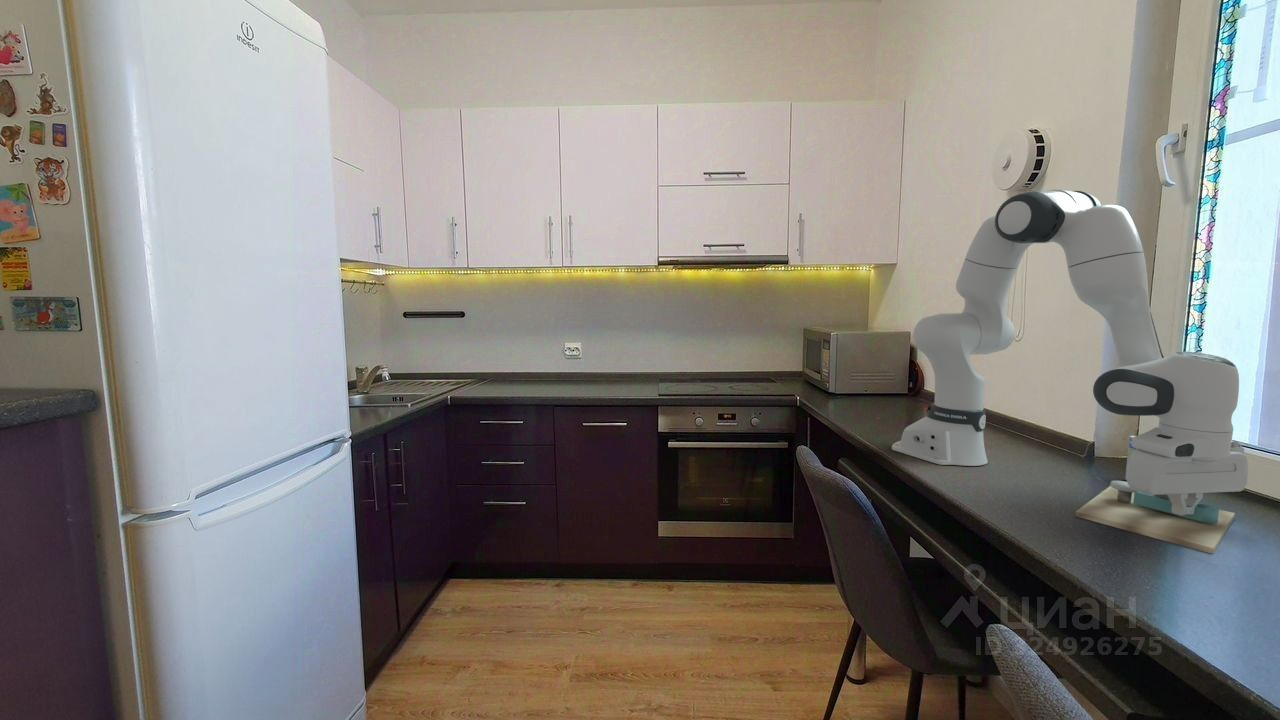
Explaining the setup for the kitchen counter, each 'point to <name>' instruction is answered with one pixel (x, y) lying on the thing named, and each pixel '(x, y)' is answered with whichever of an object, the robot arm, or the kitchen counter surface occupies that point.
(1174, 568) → the kitchen counter surface
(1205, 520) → the lever with ball knob
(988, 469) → the kitchen counter surface
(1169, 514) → the base board
